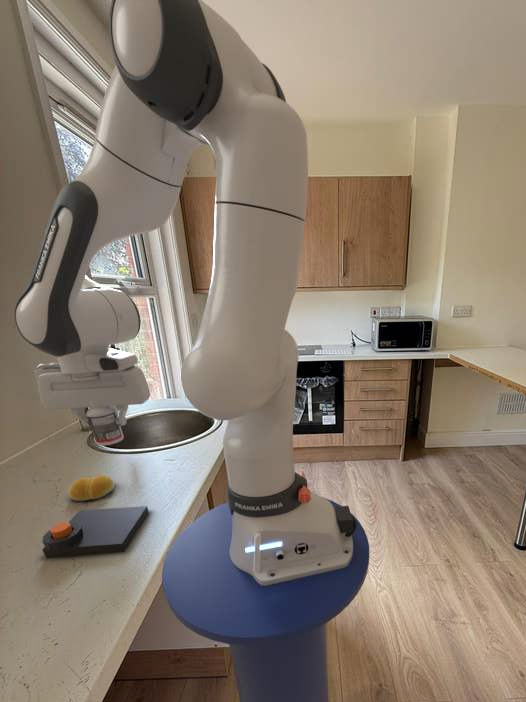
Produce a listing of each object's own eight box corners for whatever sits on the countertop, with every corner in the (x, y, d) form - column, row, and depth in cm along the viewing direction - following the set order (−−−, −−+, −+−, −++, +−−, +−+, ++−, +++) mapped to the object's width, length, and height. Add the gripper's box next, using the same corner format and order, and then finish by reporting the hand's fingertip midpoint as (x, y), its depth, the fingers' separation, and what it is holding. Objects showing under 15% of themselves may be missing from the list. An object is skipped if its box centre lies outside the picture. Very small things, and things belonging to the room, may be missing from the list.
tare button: (75, 528, 66) (73, 521, 66) (66, 538, 64) (63, 531, 63) (59, 529, 66) (56, 522, 66) (49, 539, 63) (46, 532, 63)
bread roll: (111, 497, 82) (106, 483, 80) (67, 505, 79) (61, 490, 78) (118, 480, 89) (114, 466, 87) (77, 487, 86) (73, 473, 85)
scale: (149, 513, 76) (145, 499, 74) (123, 553, 64) (118, 538, 63) (80, 517, 75) (75, 504, 73) (41, 559, 63) (34, 544, 62)
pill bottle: (99, 438, 77) (86, 396, 73) (126, 434, 79) (114, 392, 75) (93, 448, 72) (78, 403, 69) (121, 443, 74) (108, 399, 70)
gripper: (19, 367, 65) (45, 434, 71) (130, 360, 66) (148, 428, 72) (42, 360, 71) (64, 423, 76) (144, 355, 72) (159, 417, 77)
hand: (105, 425), depth 74 cm, fingers closed on pill bottle, 5 cm apart
